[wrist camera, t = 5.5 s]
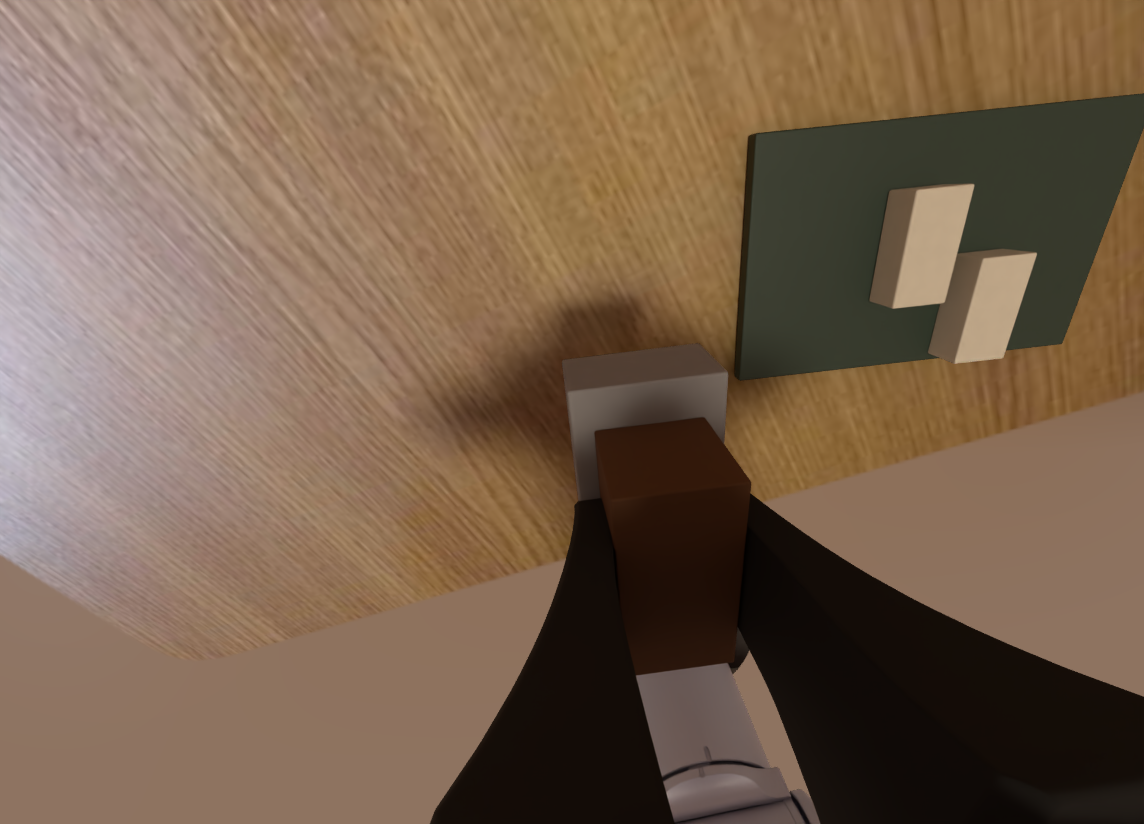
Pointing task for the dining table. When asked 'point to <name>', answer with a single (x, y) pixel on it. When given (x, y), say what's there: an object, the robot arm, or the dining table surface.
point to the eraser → (664, 497)
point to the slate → (857, 209)
